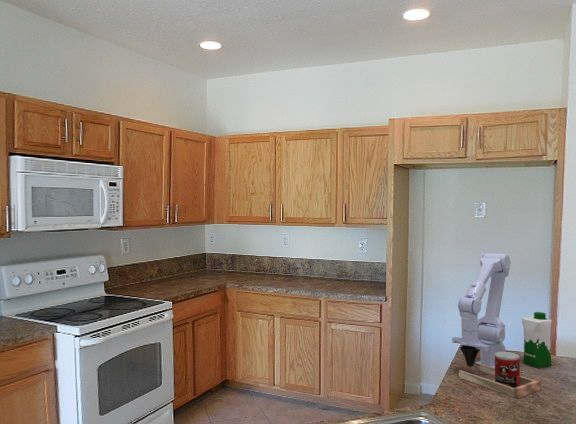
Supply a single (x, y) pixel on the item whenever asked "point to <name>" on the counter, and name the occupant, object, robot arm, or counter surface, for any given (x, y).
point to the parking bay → (518, 392)
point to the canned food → (507, 369)
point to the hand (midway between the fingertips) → (470, 366)
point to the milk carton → (537, 340)
